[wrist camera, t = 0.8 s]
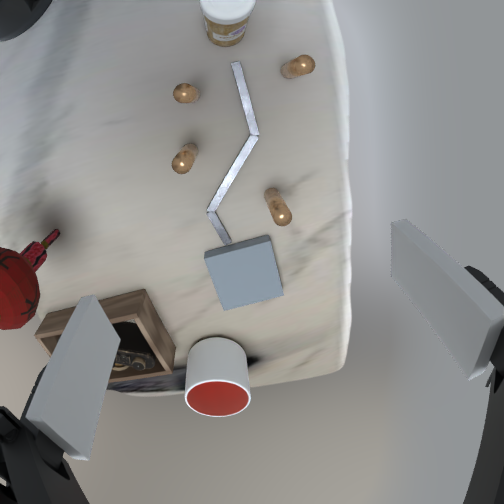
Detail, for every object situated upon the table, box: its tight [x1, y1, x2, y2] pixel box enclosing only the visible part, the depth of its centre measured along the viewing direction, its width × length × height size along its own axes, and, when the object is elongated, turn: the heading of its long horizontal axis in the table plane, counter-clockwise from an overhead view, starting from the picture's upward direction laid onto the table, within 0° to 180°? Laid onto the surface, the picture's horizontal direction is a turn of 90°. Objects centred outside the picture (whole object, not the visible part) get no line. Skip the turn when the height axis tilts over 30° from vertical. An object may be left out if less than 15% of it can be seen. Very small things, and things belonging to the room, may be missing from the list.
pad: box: [204, 235, 284, 311], centre depth 44 cm, size 9×9×2 cm
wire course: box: [172, 55, 315, 245], centre depth 34 cm, size 23×16×8 cm
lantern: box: [0, 229, 60, 330], centre depth 26 cm, size 10×10×30 cm
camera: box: [57, 321, 156, 371], centre depth 45 cm, size 16×7×8 cm, turn 79°
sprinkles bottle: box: [199, 0, 256, 47], centre depth 24 cm, size 5×5×13 cm
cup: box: [185, 337, 251, 417], centre depth 48 cm, size 10×10×10 cm
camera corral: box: [34, 289, 176, 383], centre depth 46 cm, size 13×21×6 cm, turn 104°
